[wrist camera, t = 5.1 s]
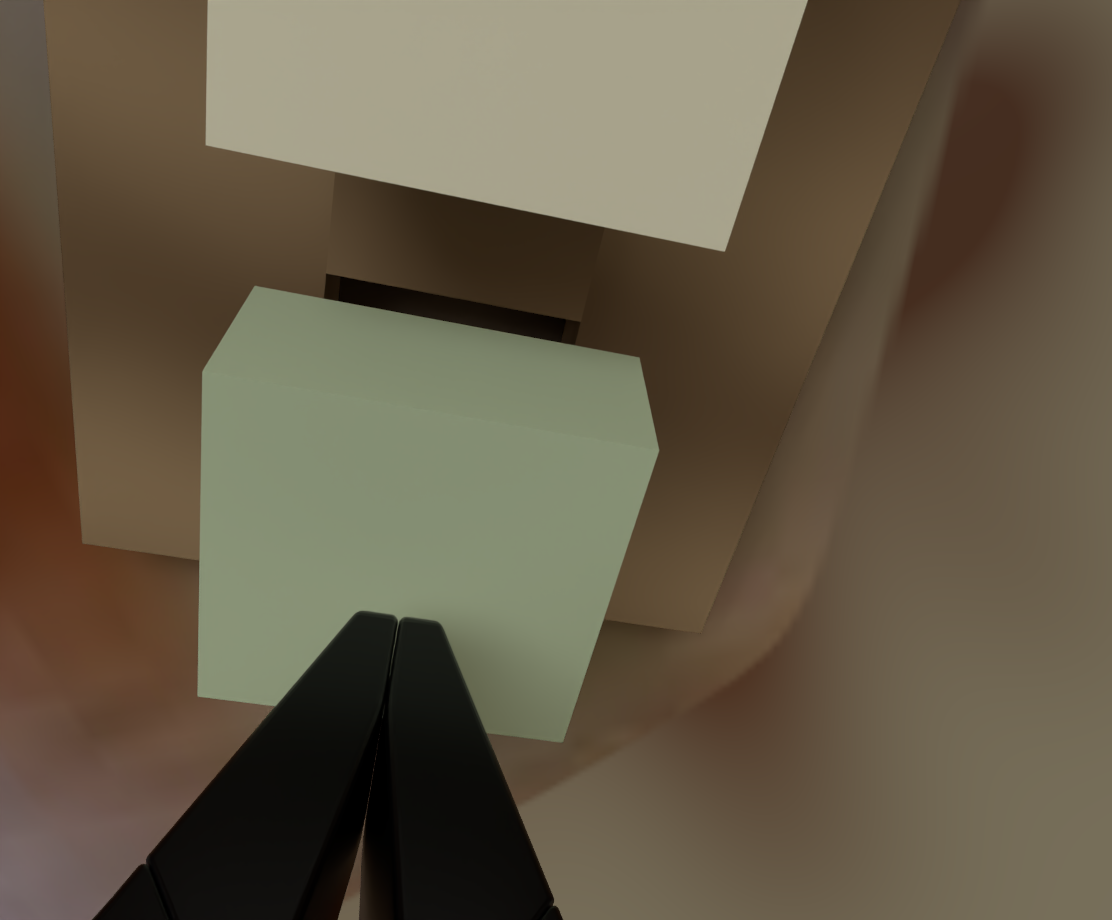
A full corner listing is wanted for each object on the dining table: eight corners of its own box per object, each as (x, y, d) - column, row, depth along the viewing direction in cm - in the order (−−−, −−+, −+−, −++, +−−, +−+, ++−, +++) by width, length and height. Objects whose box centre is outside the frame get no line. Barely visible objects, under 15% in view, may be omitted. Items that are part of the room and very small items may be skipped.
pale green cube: (556, 561, 15) (563, 743, 12) (266, 517, 14) (197, 696, 11) (628, 304, 12) (659, 449, 9) (284, 237, 12) (203, 371, 9)
